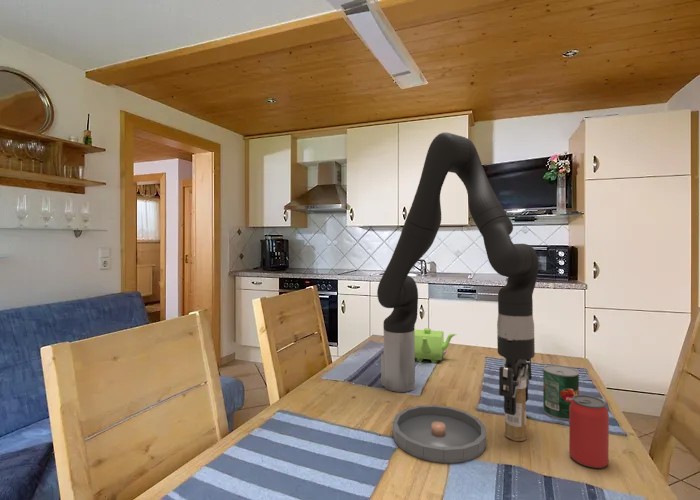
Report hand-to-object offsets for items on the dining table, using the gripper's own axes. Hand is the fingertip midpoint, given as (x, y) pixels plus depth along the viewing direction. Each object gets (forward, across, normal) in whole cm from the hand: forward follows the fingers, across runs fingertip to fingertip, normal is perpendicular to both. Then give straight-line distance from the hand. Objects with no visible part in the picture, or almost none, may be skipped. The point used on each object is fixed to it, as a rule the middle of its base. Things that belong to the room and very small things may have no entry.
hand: (516, 406), depth 85 cm
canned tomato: (+7, -19, +5) cm, 21 cm away
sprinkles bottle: (+7, 0, 0) cm, 7 cm away
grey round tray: (+7, +11, -13) cm, 19 cm away
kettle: (+6, -36, -42) cm, 56 cm away
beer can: (+7, 0, +14) cm, 15 cm away
